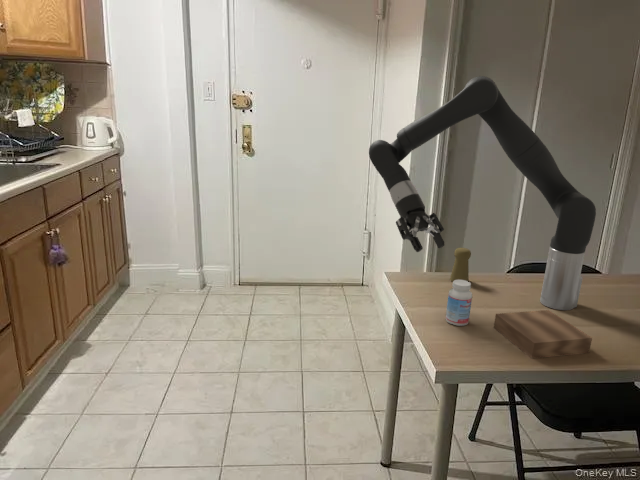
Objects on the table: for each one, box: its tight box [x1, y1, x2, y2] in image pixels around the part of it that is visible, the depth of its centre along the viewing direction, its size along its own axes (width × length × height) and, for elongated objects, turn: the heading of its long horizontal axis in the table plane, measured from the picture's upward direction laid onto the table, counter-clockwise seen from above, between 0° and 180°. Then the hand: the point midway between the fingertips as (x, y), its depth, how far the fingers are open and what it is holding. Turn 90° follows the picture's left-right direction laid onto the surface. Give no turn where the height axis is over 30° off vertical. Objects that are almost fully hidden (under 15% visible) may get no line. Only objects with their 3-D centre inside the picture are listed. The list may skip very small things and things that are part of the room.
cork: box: [449, 247, 472, 283], centre depth 165 cm, size 6×6×11 cm
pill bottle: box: [445, 280, 473, 327], centre depth 135 cm, size 6×6×11 cm
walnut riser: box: [493, 309, 593, 359], centre depth 128 cm, size 16×16×4 cm
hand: (431, 248), depth 142 cm, fingers open, 8 cm apart
